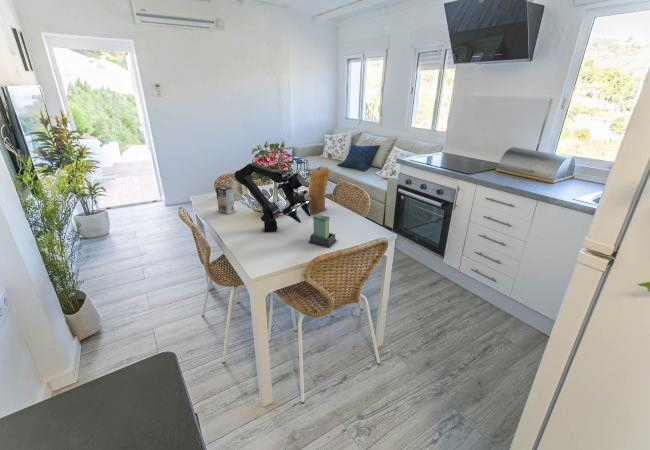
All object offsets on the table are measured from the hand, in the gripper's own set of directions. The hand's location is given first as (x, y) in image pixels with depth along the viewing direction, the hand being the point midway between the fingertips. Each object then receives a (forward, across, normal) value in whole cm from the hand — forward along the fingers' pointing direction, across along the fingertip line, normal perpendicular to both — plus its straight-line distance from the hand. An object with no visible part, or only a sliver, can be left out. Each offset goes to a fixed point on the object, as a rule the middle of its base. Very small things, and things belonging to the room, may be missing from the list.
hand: (305, 219), depth 163 cm
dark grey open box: (+14, 0, -3) cm, 15 cm away
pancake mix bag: (+2, +36, +19) cm, 41 cm away
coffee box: (-26, +6, +60) cm, 66 cm away
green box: (+13, 0, -3) cm, 14 cm away
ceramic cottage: (-34, +31, +74) cm, 87 cm away
